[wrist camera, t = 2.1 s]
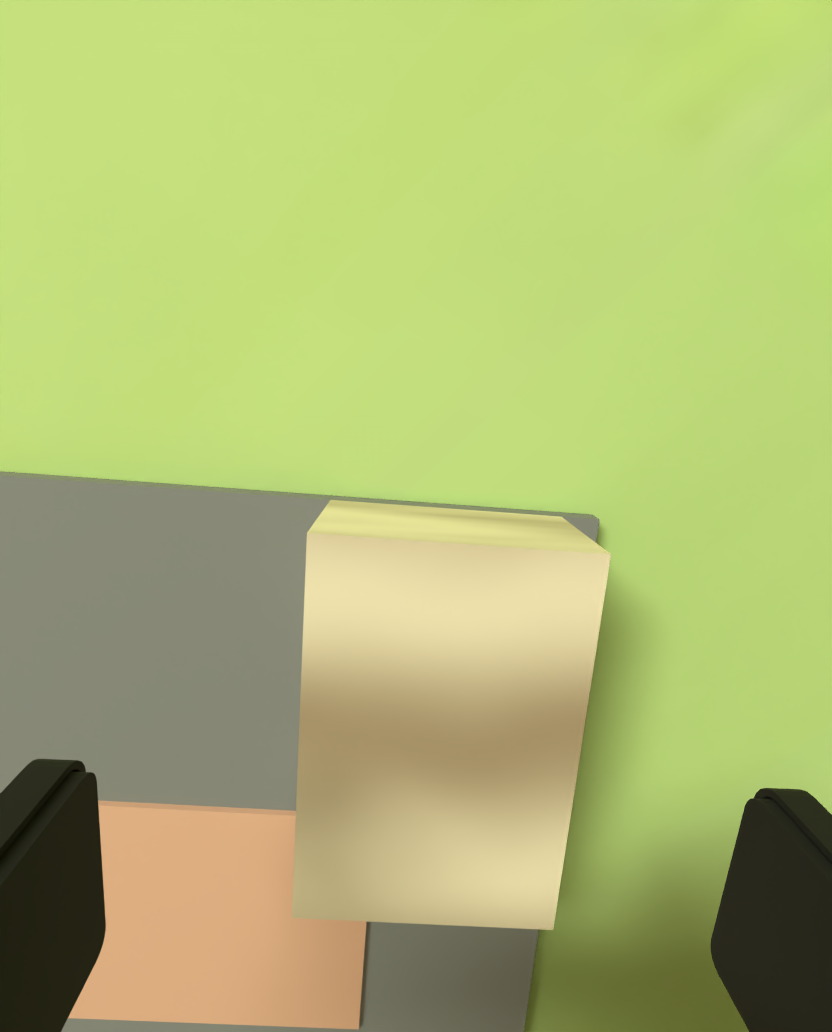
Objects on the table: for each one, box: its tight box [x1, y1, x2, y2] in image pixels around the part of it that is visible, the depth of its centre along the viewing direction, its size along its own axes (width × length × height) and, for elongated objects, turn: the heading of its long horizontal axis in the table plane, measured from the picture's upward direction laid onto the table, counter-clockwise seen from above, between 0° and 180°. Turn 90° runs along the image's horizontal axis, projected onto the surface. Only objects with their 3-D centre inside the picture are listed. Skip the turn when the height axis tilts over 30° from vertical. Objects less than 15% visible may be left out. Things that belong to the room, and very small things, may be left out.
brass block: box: [292, 500, 611, 930], centre depth 14 cm, size 9×6×4 cm, turn 176°
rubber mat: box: [0, 472, 599, 1032], centre depth 17 cm, size 18×16×1 cm
